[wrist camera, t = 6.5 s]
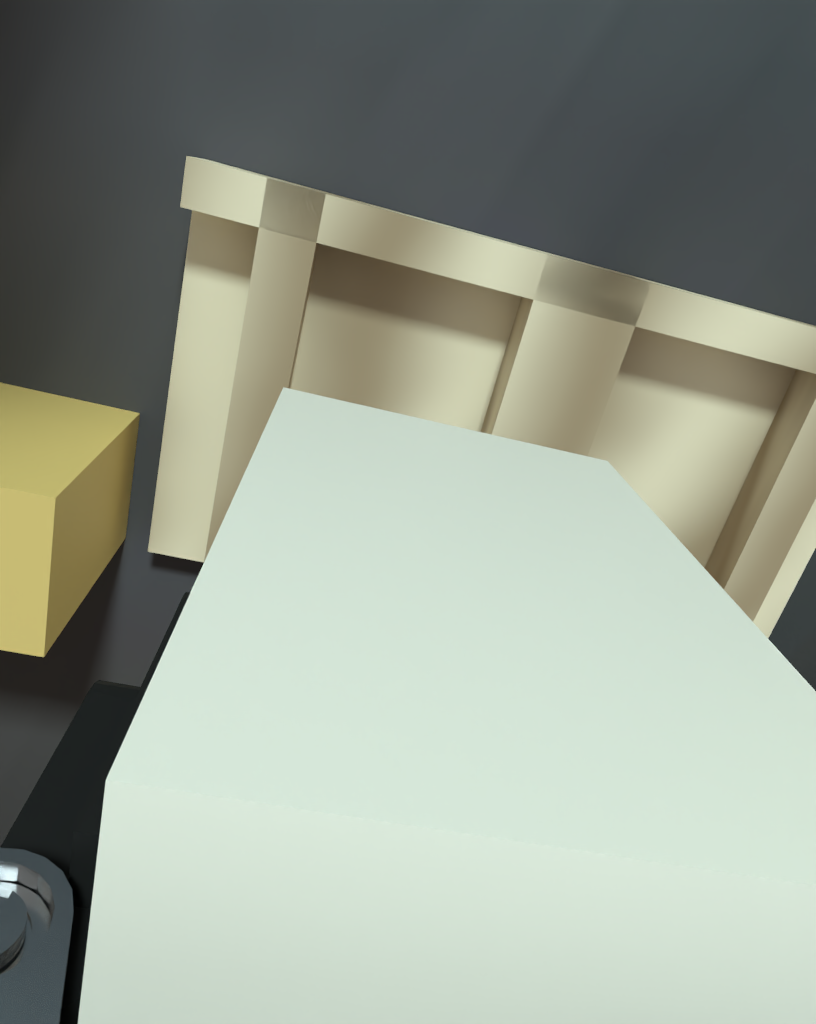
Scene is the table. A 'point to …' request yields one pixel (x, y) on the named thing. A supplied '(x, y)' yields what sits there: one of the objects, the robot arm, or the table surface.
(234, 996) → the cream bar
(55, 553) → the ochre bar
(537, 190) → the table surface
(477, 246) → the slot board
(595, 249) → the table surface
